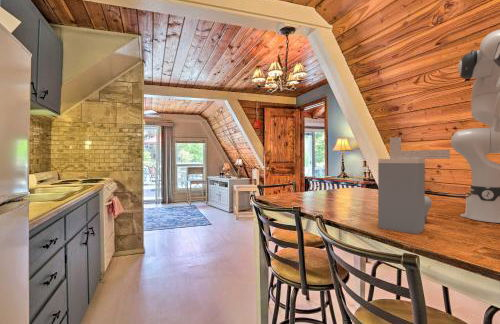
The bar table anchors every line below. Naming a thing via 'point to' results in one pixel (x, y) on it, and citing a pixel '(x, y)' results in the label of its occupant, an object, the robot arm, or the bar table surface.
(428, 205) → the lightbulb
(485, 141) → the robot arm
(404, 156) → the block
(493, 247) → the bar table surface
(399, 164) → the stand
